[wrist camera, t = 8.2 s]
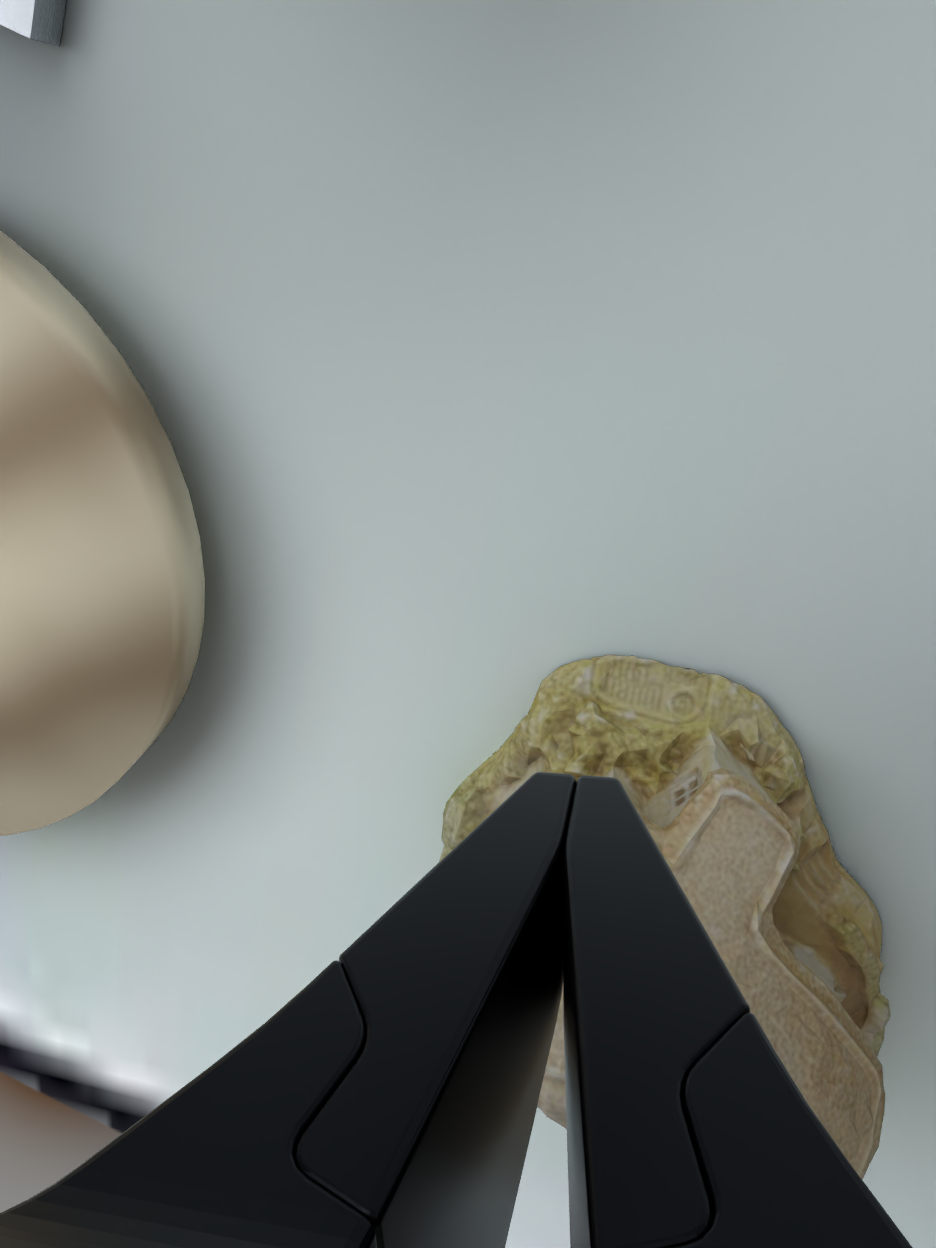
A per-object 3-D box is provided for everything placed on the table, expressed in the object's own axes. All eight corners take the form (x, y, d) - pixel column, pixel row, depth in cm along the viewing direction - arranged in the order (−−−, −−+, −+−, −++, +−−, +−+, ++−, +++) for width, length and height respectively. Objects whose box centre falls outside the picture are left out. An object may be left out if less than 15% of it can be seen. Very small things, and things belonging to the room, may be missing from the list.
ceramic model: (367, 803, 27) (220, 1107, 18) (664, 584, 22) (664, 850, 13) (669, 1086, 29) (672, 1472, 20) (994, 946, 24) (1181, 1374, 16)
